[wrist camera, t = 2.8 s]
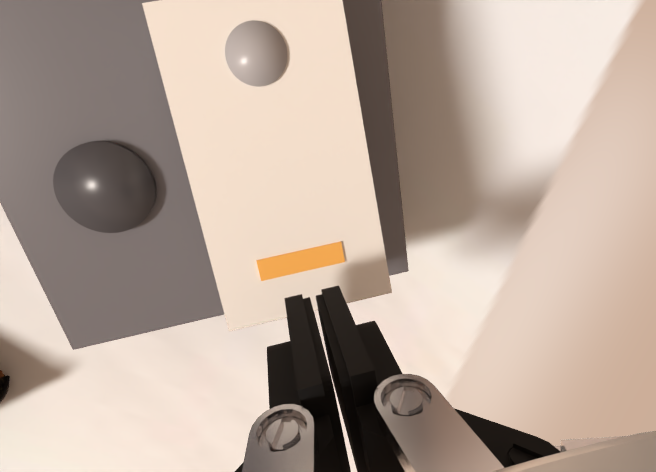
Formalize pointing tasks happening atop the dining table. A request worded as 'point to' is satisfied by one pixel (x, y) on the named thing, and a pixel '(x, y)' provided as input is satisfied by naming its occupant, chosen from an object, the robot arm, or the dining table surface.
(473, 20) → the dining table surface
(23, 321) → the dining table surface
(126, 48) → the switch panel
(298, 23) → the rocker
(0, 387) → the sunglasses case
